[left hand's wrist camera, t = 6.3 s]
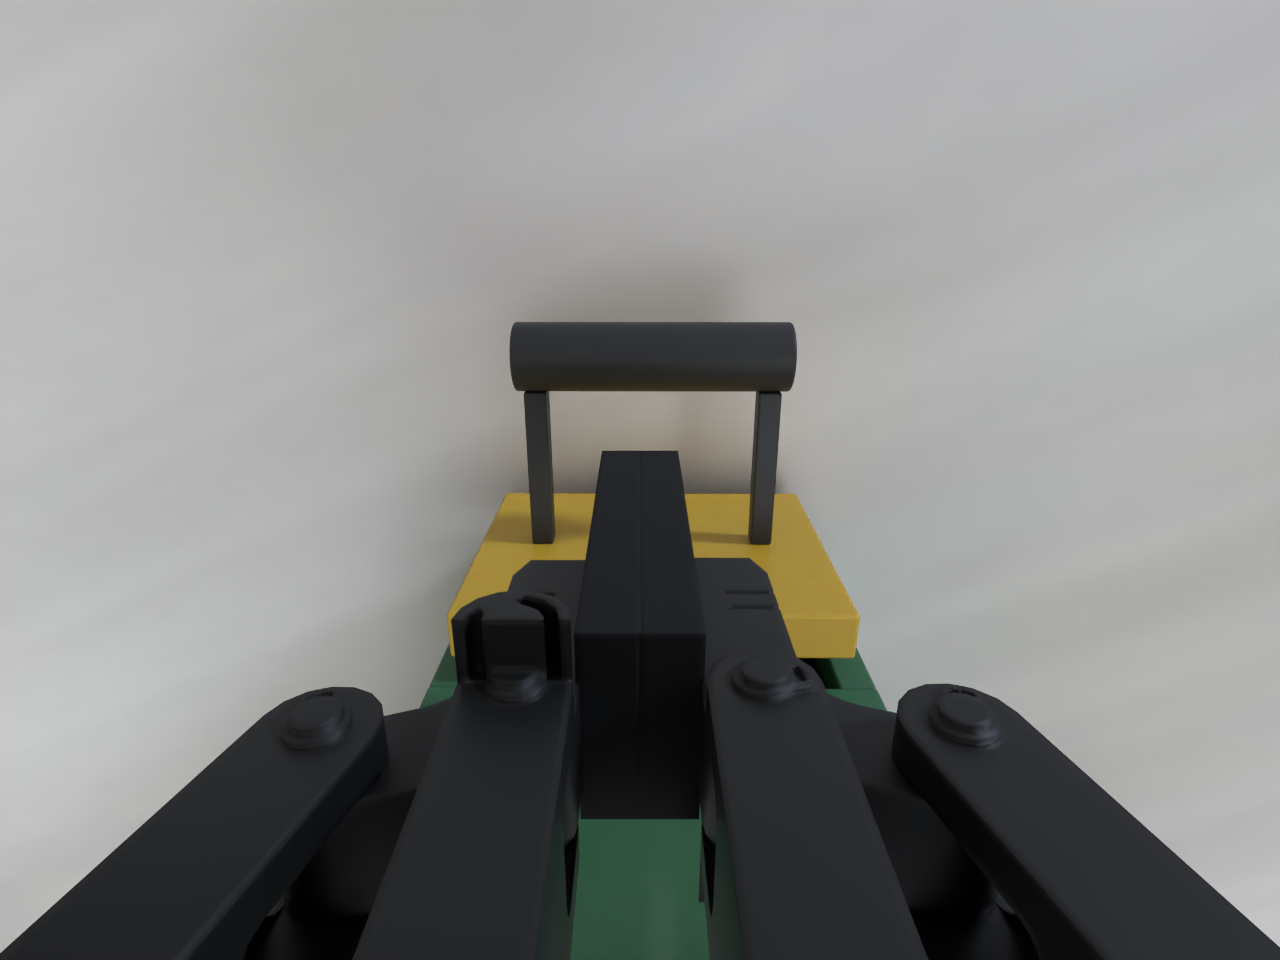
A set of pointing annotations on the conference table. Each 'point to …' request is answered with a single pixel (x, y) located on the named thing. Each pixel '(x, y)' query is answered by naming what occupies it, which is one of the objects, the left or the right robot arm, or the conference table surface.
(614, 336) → the drawer
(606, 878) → the cabinet
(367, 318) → the conference table surface
